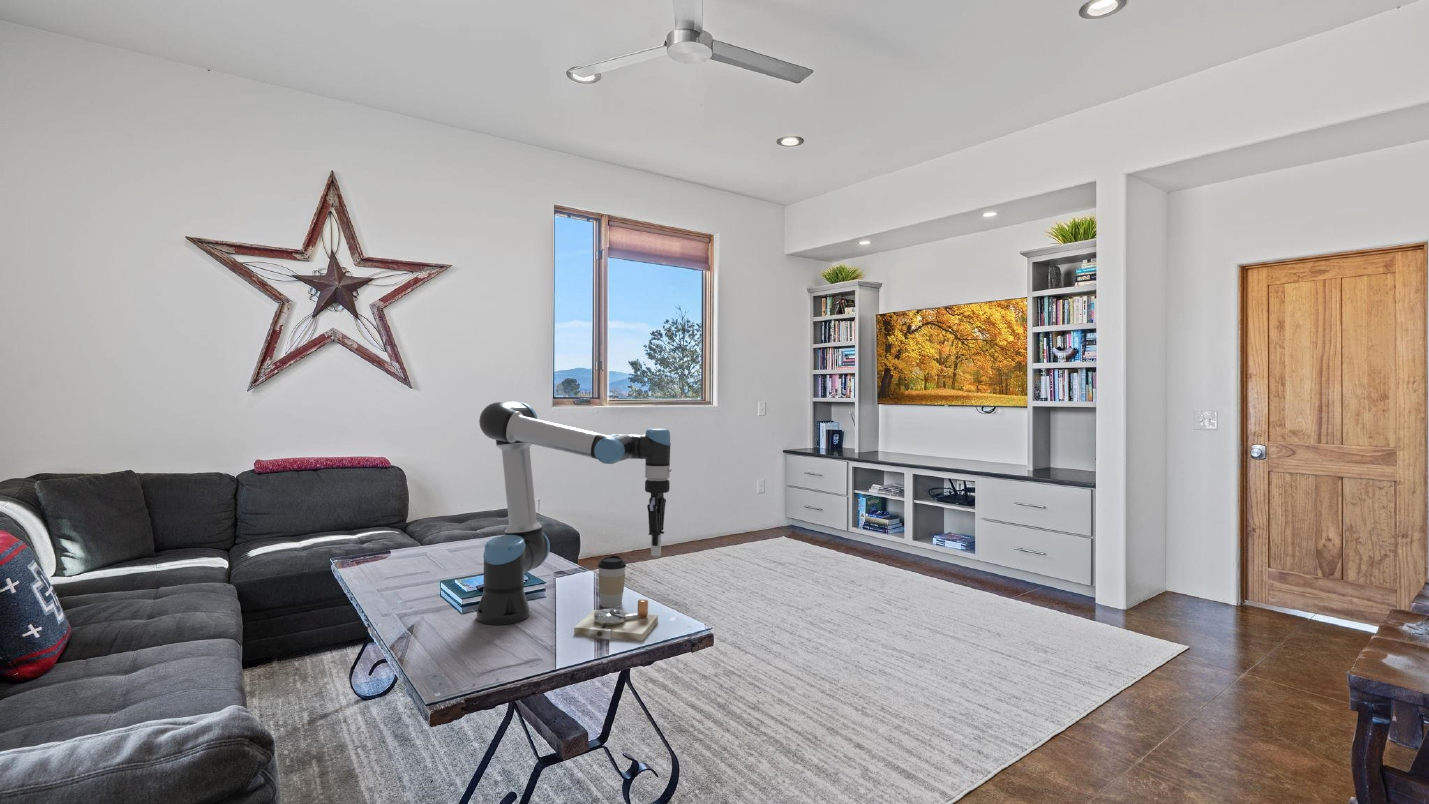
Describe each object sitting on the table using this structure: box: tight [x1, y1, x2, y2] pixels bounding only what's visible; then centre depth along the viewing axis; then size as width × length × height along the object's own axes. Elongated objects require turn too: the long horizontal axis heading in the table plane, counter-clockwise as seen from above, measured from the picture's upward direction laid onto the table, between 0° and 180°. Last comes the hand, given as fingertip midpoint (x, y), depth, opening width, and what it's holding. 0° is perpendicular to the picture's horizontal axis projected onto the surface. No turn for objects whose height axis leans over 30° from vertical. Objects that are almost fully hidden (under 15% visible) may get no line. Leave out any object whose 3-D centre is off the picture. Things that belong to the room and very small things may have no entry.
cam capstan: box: [594, 599, 649, 626], centre depth 199 cm, size 16×10×5 cm, turn 114°
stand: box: [573, 609, 659, 642], centre depth 198 cm, size 20×18×2 cm
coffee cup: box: [597, 555, 627, 609], centre depth 220 cm, size 9×9×15 cm
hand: (655, 555), depth 210 cm, fingers closed
